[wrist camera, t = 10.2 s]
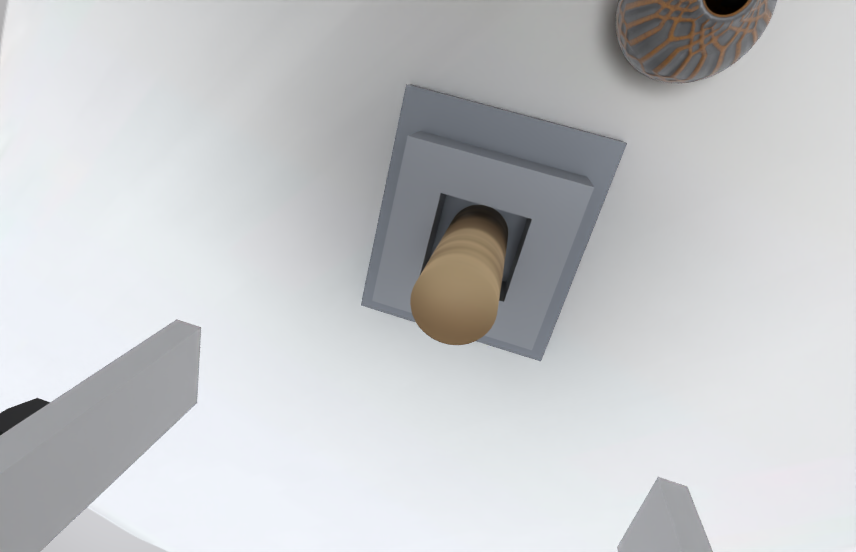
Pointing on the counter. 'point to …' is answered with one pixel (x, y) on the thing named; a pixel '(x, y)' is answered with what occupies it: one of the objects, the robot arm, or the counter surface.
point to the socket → (499, 189)
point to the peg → (463, 278)
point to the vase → (689, 35)
